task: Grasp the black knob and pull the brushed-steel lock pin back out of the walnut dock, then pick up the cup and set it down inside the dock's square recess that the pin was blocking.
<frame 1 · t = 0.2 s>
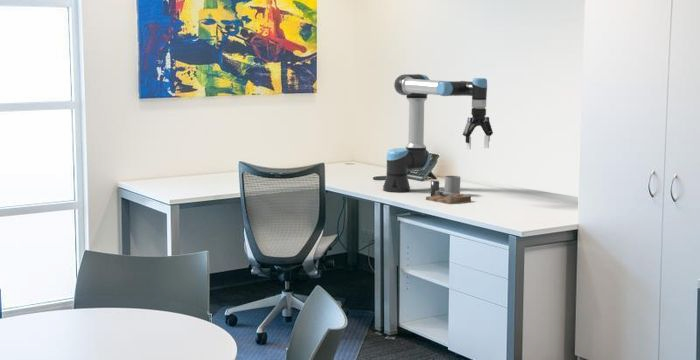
hand: (477, 148, 468), 27 cm above the table, fingers open, 13 cm apart
cup: (452, 195, 490), on the table
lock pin: (442, 189, 474), point 5 cm above the table, slide at 0.0 cm
dock: (448, 200, 470), on the table
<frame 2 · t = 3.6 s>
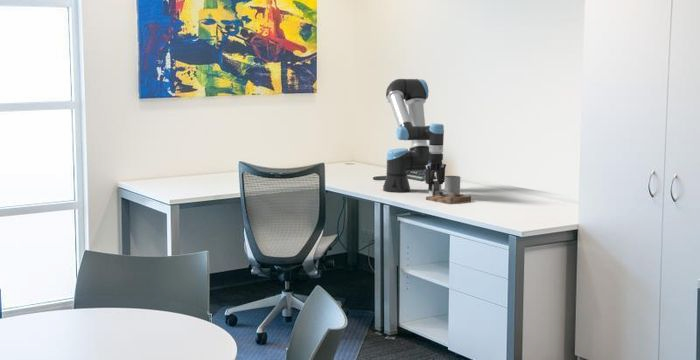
hand: (434, 196, 479), 1 cm above the table, fingers closed on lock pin, 4 cm apart
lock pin: (442, 189, 474), point 5 cm above the table, slide at 0.0 cm, touching gripper
everything else where it was.
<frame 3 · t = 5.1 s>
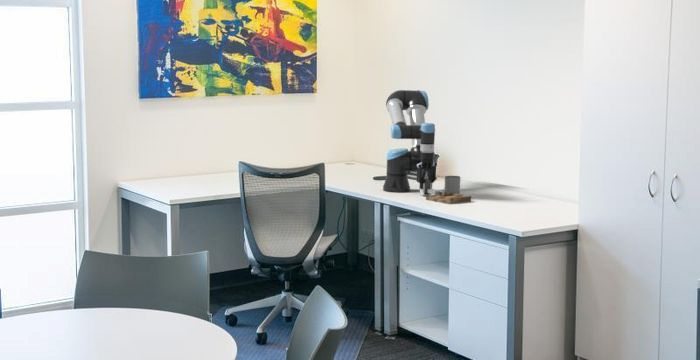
hand: (425, 194, 485), 1 cm above the table, fingers closed on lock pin, 4 cm apart
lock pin: (433, 188, 480), point 5 cm above the table, slide at 7.0 cm, touching gripper
everything else where it was.
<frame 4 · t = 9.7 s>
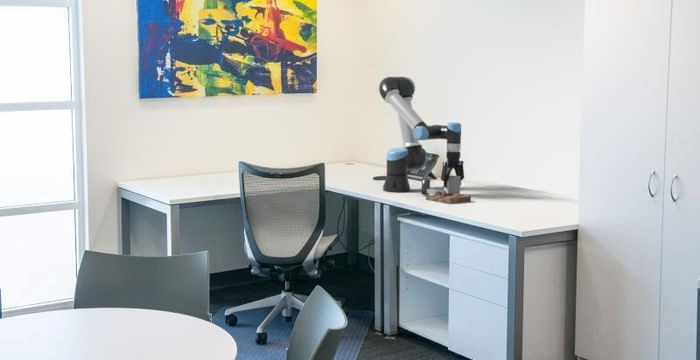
hand: (452, 192, 490), 1 cm above the table, fingers closed on cup, 8 cm apart
cup: (452, 195, 490), on the table, touching gripper
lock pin: (433, 188, 480), point 5 cm above the table, slide at 7.1 cm
when the fingers open (5 cm above the table, at t = 14.6 s): cup drops 2 cm, resting on dock.
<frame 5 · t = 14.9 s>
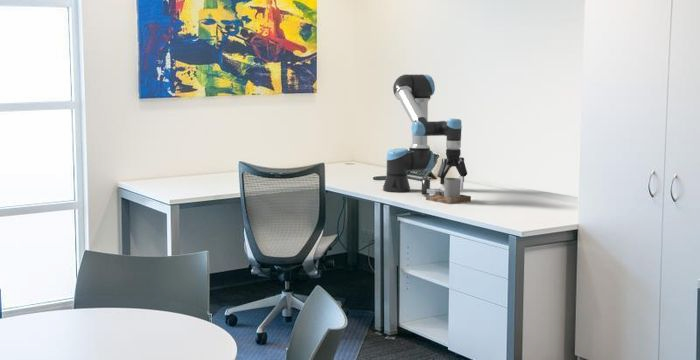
hand: (452, 189, 468), 6 cm above the table, fingers open, 12 cm apart
cup: (451, 198, 469), point 1 cm above the table, touching dock
everything else where it was.
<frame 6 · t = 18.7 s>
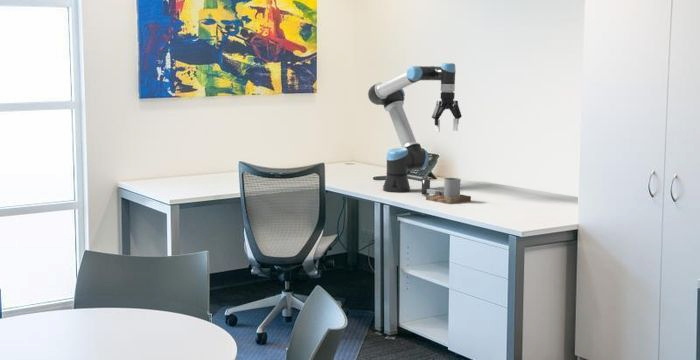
hand: (446, 131, 487), 35 cm above the table, fingers open, 13 cm apart
nothing on the table moved.
at the end: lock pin slide at 7.1 cm; cup inside the target area on the dock (0.0 cm from its centre), point 1.3 cm above the dock's base; cup tilted 0° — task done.
